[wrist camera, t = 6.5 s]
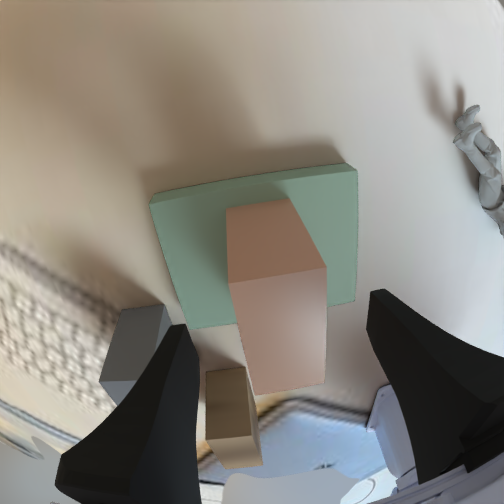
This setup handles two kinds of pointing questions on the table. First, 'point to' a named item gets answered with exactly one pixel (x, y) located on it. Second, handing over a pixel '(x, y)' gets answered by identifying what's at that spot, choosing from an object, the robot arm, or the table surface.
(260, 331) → the terracotta brick
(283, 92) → the table surface
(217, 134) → the table surface
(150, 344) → the charcoal brick
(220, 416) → the walnut brick
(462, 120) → the soldier figure
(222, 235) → the sage board
